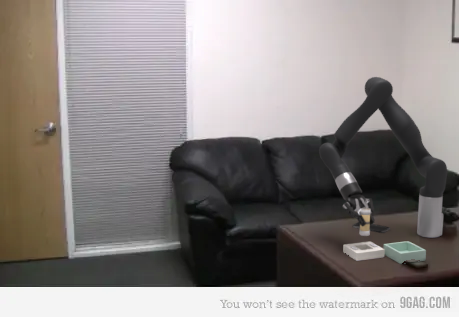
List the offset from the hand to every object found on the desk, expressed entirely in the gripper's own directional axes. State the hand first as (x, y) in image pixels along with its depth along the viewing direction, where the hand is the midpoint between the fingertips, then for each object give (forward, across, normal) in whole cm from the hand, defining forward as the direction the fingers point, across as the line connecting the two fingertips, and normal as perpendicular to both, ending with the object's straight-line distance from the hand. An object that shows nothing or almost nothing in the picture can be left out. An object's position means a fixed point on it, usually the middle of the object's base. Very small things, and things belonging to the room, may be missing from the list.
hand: (368, 224), depth 215 cm
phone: (-9, +25, +28) cm, 39 cm away
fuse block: (+8, 0, +10) cm, 13 cm away
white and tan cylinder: (+2, 0, +5) cm, 5 cm away
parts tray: (+14, +11, +4) cm, 19 cm away
